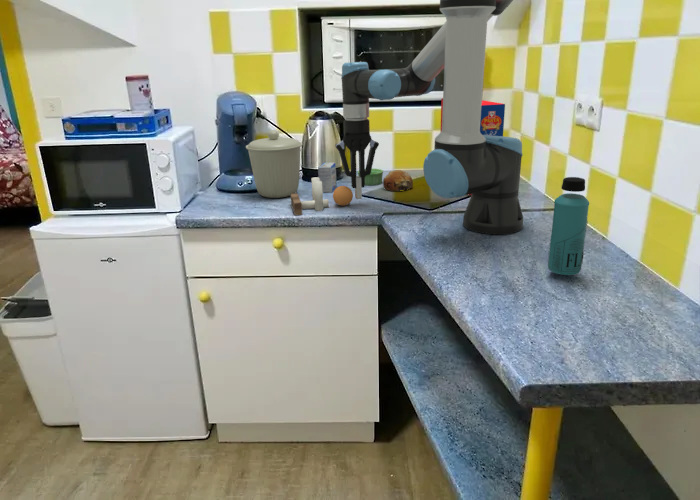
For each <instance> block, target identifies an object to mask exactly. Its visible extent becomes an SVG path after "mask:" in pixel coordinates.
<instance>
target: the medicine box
mask: <svg viewBox="0 0 700 500" xmlns="http://www.w3.org/2000/svg"><path fill="white" fill-rule="evenodd" d="M336 166H337V165H336V162H330V161H329V162H322V164H321V165H320V166H319V167H318V168H317V173H318V177H319V179H320V181H322V193H329V194H330V193H332V194H333V192H334V190H335V189H336V188H337V187H338V186H337V167H336Z"/></svg>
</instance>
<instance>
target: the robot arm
mask: <svg viewBox="0 0 700 500" xmlns="http://www.w3.org/2000/svg"><path fill="white" fill-rule="evenodd" d="M513 1H514V0H439V11H440V13H441V14H442V15H443V16H444V17H445V19H446V20H445V22H444V23H443V24H442V26H440V28H439V29H438V30H437V32H436V33H435V34H434V35H433V37H431V39H429V41H428V42H427V44H426V45H425V46H424V47H423V48H422V49H421V51H420V52H419V53H418V55H417V56H416V57H415V58H414V59H413V60H412V61H411V63H410V64H409V65H408V66H407V67H405V68H404V67H402V68H400V67H399V68H385V69H384V68H383V69H370V68H369V64H368V62H367V61H354V62H353V61H352V62H344V63H343V64H342V66H341V92H342V113H343V114H342V115H343V116H342V117H343V118H344V120H343V136H342V139H341V141H339V142H338V143H335V145H334V146H335V147H334V148H336V149H337V151H338V153H339V157H340V160H341V163H342V166H343V172H344V174H345V175H346V176H347V177H350V178H351V182H350V184H351V188H352V189H354V197H355V199H356V200H363V197H362V195H363V191H362V188H365V186H366V185H365V176H366V175H370V174H371V169H373V164H374V161H375V160H374V159H375V156H376V155H375V154H376V151H377V149H378V147H379V145H380V143H379V142H378V141H377V140H374V139H373V138H372V136H371V133H370V132H371V131H370V128H371V127H370V119H368V118H370V99H371V100H373V99H375V100H379V101H387V100H390V101H391V100H394V98H402V97H415V96H416V97H418V96H419V97H420V96H423V95H427V94H429V93H431V91H433V90H434V86H435V84H436V77H437V76H438V75H439V74H441V72H442V71H443V91H442V92H443V93H442V94H443V95H442V96H443V97H442V98H443V113H442V131H441V130H440V132H441V133H438V135H437V136H436V137H435V138H434V146H433V147H434V149H433V150H431V151H430V152H429V153H428V154H427V155H426V157H425V158H424V161H423V165H422V166H423V175H424V179H425V181H426V184H427V186H428V187H430V189H431V191H432V192H433V193H434V194H435V195H437V196H439V197H440V198H442V199H453V198H454V199H455V198H462V197H464V196H469V195H468V194H471V196H470V197H469V201H468V203H467V206H466V208H465V211H464V214H463V216H462V217H463V219H462V225H463V226H464V228H466V229H468V230H469V231H472V232H474V233H475V232H476V233H480V234H487V235H506V234H508V235H509V234H514V233H517V232H519V231H521V230H523V228H524V215H523V212H522V208H521V207H522V206H521V203H520V200H519V193H520V192H519V191H520V181H521V179H520V178H521V168H522V157H523V143H522V141H521V139H519V138H516V137H511V136H504V135H503V136H493V135H482V134H481V133H480V120H481V106H482V100H483V90H484V89H483V88H484V74H485V59H486V44H487V29H488V22H489V21H490V19H491V18H492V17H493V16H494V17H496V16H498V17H499V16H500V15H502V14H503V12H504V11H505V10H506V9H507V8H508V7H509V5H511V4H512V3H513ZM345 146H346V148H347V149H348V150H349V157H350V158H349V160H350V167H349V164H348V160H347V156H346V154H345ZM368 146H369V150H368V156H367V160H366V162H365V159H366V157H365V156H366V154H365V153H366V152H365V151H366V149H367V147H368ZM357 152H358V167H359V168H358V171H359V175H360V176H358V175H357Z"/></svg>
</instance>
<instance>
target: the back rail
mask: <svg viewBox="0 0 700 500" xmlns="http://www.w3.org/2000/svg"><path fill="white" fill-rule="evenodd" d="M301 201H302V200H301V199H300V197H299V193H297V192H296V193H291V196H290V205H291V208H292V210H293V213H294V215H295V216H302V215H303V209H302V203H301Z"/></svg>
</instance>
